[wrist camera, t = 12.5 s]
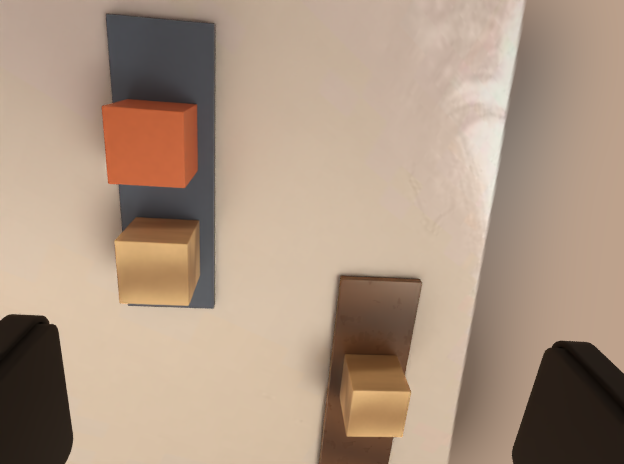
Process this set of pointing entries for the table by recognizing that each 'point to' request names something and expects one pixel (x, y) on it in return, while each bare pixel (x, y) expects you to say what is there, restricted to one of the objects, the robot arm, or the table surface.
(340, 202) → the table surface
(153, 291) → the tan wooden cube
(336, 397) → the word strip far
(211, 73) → the word strip near
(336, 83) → the table surface
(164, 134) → the orange cube
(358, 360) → the light wood cube
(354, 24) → the table surface
